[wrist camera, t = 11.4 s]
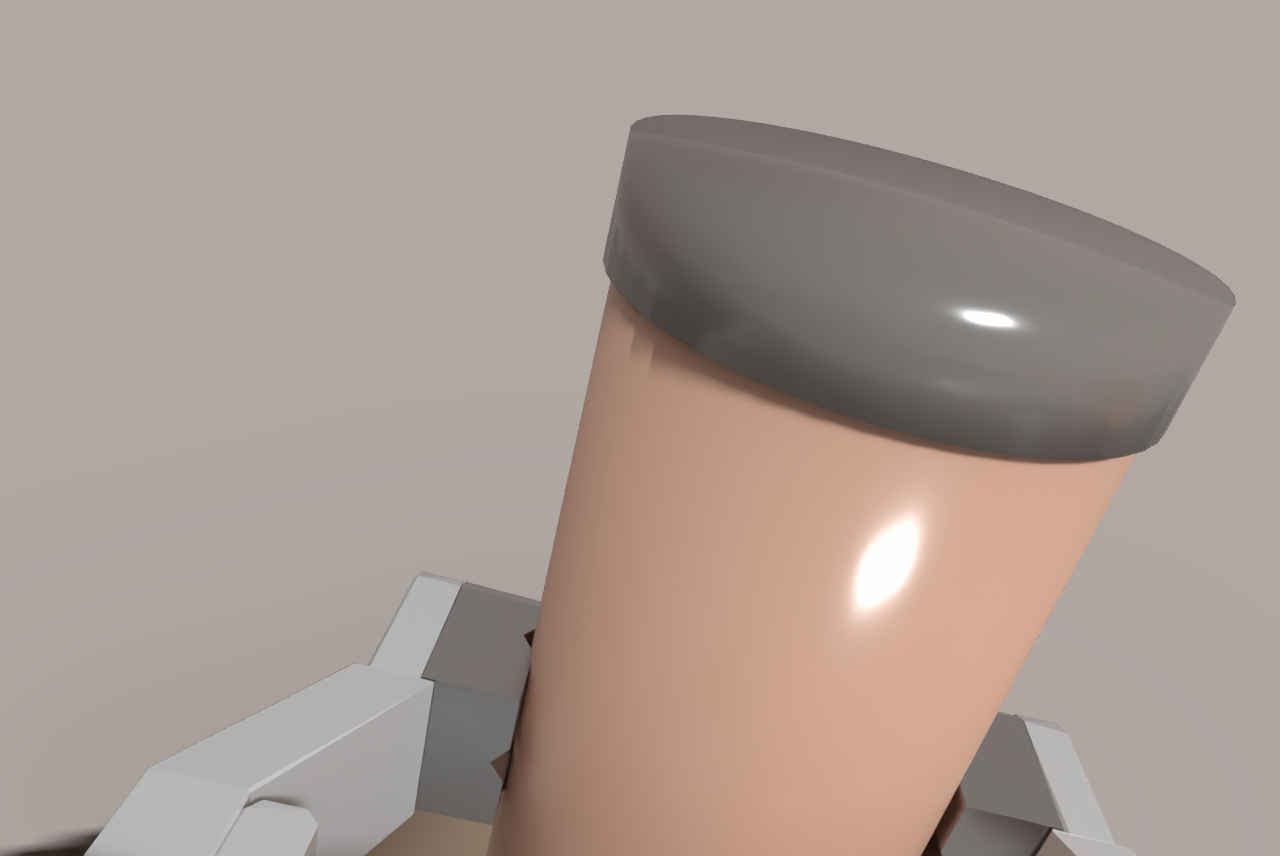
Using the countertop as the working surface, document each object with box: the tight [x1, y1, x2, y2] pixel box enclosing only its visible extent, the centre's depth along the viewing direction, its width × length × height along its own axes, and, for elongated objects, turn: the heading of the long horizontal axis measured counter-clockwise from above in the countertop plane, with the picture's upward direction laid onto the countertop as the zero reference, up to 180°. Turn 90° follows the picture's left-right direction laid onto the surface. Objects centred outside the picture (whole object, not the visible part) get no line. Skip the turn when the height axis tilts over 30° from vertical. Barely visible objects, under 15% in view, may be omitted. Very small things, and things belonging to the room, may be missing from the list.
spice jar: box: [486, 115, 1236, 856], centre depth 10 cm, size 5×5×13 cm
